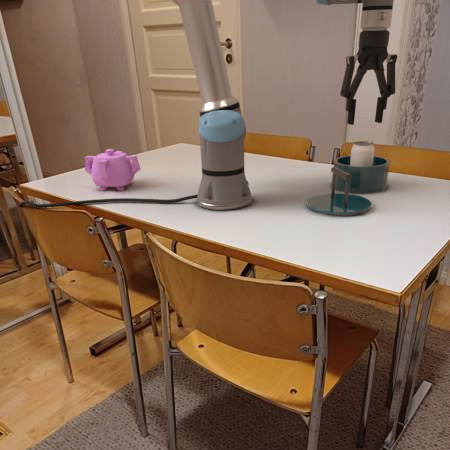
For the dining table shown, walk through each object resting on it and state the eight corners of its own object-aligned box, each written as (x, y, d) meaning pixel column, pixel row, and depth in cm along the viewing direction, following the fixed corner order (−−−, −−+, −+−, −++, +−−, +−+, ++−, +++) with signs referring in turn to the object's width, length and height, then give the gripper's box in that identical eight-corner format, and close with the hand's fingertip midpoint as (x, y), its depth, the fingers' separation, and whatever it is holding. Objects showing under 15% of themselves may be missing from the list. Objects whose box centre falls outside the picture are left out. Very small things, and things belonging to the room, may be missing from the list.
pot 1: (150, 179, 156) (145, 143, 151) (133, 194, 141) (128, 155, 136) (99, 179, 159) (93, 144, 153) (77, 194, 144) (70, 155, 138)
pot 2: (346, 195, 132) (348, 169, 128) (324, 182, 145) (326, 157, 142) (396, 190, 135) (400, 164, 131) (370, 177, 148) (373, 153, 144)
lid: (321, 219, 115) (323, 181, 111) (297, 200, 130) (299, 166, 125) (382, 212, 118) (387, 175, 114) (353, 195, 132) (356, 161, 128)
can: (365, 188, 136) (369, 146, 130) (344, 185, 139) (348, 144, 134) (373, 183, 140) (378, 142, 134) (353, 180, 144) (357, 140, 138)
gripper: (344, 30, 115) (335, 127, 126) (419, 28, 119) (404, 122, 130) (331, 31, 122) (324, 123, 133) (403, 29, 125) (390, 119, 136)
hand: (364, 123), depth 131 cm, fingers open, 8 cm apart
